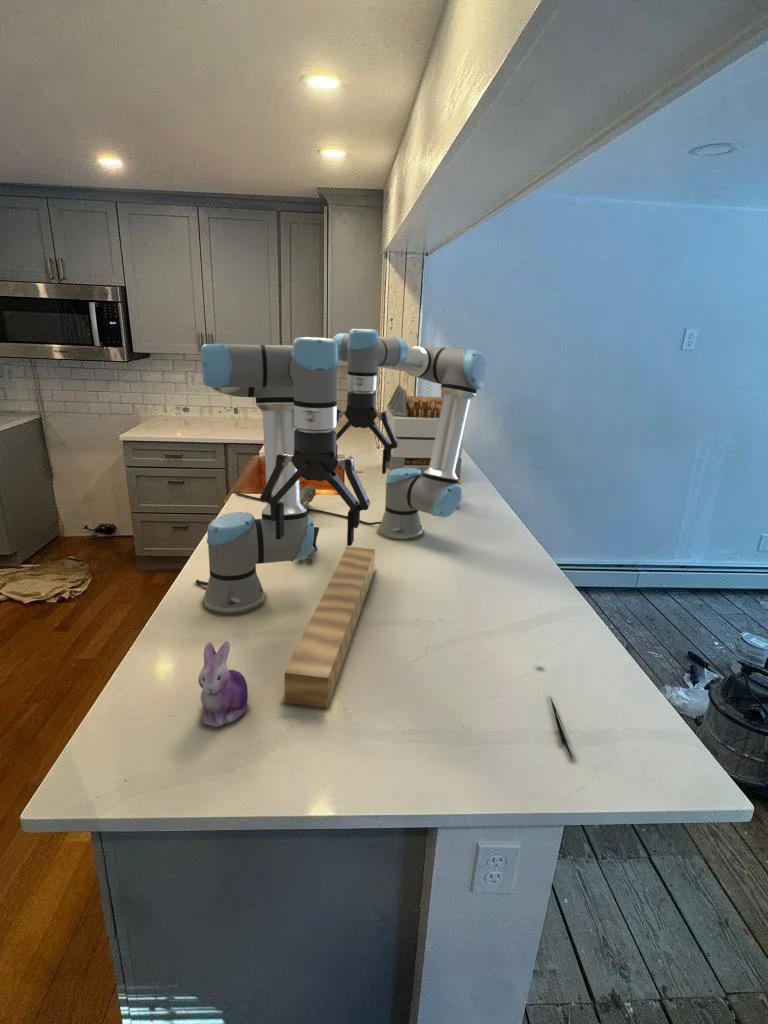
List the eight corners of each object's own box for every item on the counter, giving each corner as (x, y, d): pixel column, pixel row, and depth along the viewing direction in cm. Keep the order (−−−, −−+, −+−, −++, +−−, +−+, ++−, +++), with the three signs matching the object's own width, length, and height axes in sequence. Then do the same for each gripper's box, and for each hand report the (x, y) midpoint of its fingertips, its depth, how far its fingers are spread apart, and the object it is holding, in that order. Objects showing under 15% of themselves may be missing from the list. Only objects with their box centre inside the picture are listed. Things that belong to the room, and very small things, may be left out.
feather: (540, 672, 128) (545, 666, 127) (572, 762, 101) (579, 755, 101) (533, 668, 128) (539, 662, 127) (564, 758, 101) (571, 750, 100)
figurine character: (315, 569, 173) (320, 545, 186) (315, 547, 170) (319, 524, 183) (293, 568, 173) (299, 544, 186) (293, 547, 169) (299, 524, 183)
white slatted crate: (382, 463, 289) (386, 382, 275) (445, 464, 293) (451, 384, 279) (390, 482, 257) (394, 392, 243) (460, 483, 261) (468, 394, 247)
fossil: (285, 490, 226) (313, 470, 221) (301, 508, 229) (329, 489, 224) (270, 515, 206) (301, 493, 201) (287, 534, 209) (318, 513, 204)
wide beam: (346, 568, 172) (346, 546, 170) (374, 570, 171) (375, 549, 169) (284, 702, 113) (284, 672, 110) (327, 708, 112) (328, 677, 109)
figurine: (205, 736, 103) (200, 666, 98) (195, 702, 111) (189, 636, 106) (256, 721, 107) (254, 653, 102) (243, 690, 116) (239, 626, 111)
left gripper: (239, 428, 98) (244, 541, 105) (382, 438, 95) (377, 553, 103) (254, 420, 105) (258, 527, 112) (387, 429, 102) (382, 538, 110)
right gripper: (310, 390, 144) (311, 470, 152) (408, 396, 142) (403, 478, 149) (317, 386, 151) (317, 463, 159) (410, 392, 149) (406, 470, 156)
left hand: (315, 540), depth 107 cm, fingers open, 13 cm apart
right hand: (359, 470), depth 154 cm, fingers open, 13 cm apart
